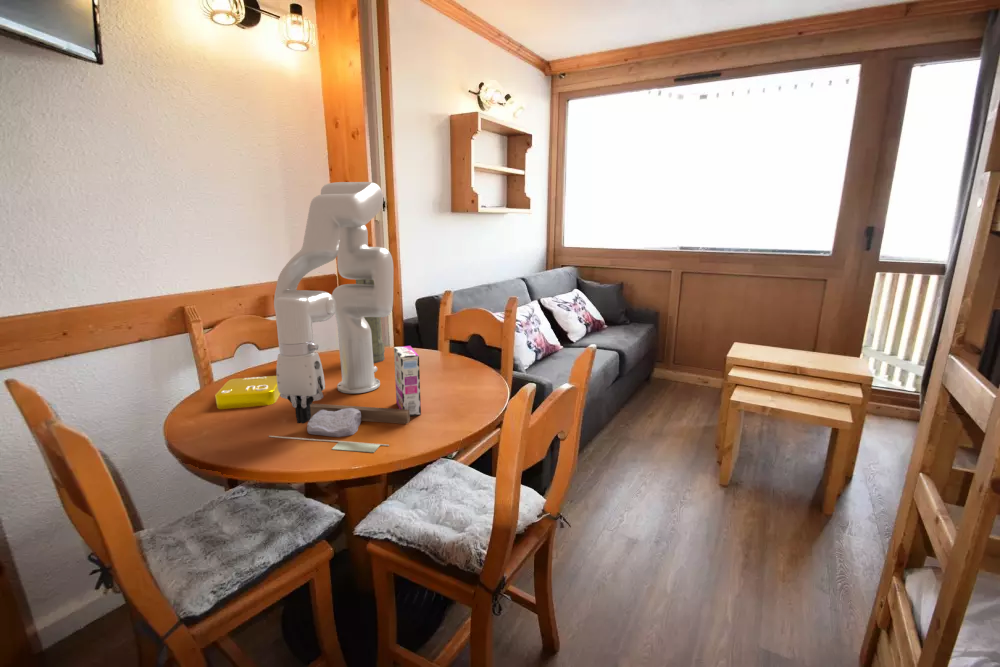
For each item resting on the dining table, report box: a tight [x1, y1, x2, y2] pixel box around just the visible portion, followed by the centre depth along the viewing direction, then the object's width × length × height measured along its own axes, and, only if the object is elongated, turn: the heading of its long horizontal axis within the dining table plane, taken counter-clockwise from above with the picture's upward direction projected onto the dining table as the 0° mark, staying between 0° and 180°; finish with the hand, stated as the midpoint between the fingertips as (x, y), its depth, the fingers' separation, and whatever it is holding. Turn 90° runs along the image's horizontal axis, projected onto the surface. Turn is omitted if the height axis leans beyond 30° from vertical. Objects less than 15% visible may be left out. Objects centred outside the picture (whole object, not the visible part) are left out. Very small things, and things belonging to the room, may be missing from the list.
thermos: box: [355, 279, 386, 364], centre depth 170 cm, size 9×12×35 cm
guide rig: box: [268, 403, 411, 454], centre depth 116 cm, size 18×30×3 cm, turn 81°
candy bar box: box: [393, 345, 422, 417], centre depth 128 cm, size 11×5×16 cm, turn 22°
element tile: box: [214, 375, 280, 410], centre depth 138 cm, size 15×15×5 cm
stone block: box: [306, 408, 362, 438], centre depth 117 cm, size 12×5×10 cm
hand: (304, 421), depth 116 cm, fingers closed
